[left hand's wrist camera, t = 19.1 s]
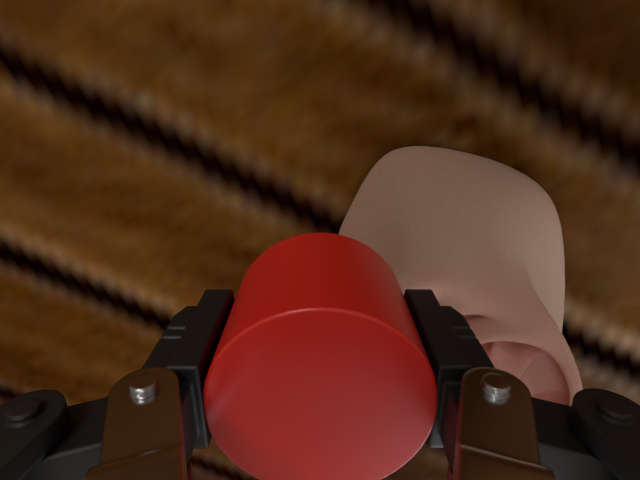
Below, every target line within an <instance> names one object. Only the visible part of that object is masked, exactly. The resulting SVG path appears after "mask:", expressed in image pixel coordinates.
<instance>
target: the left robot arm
mask: <svg viewBox="0 0 640 480" xmlns="http://www.w3.org/2000/svg"><path fill="white" fill-rule="evenodd" d="M404 298H405V300H406V303H407V305H408V308H409V311H410V313H411V316H412V318H413V321H414V323H415V326H416V328H417V331H418V334H419V336H420V339H421V341H422V344H423V346H424V349H425V351H426V354H427V357H428V359H429V362H430V364H431V367H432V369H433V372H434V375H435V379H436V383H437V412H436V416H435V420H434V424H433V427H432V429H431V432H430V435H429V437H428V438H427V442H428V446H429V448H444V450H445V453H446V456H447V459H448V462H449V465H448V472H447V480H640V406H639V405H638V404H636V403H635V402H633V401H631V400H630V399H628V398H626V397H624V396H621V395H619V394H616V393H614V392H610V391H607V390H602V389H583V390H580V391H578V392H577V393H576V394H575V395H574V397H573V401H572V404H571V406H569V405H564V404H560V403H555V402H551V401H546V400H542V399H538V398H534V397H531V393H530V391H529V389H528V387H527V386H526V385H525V384H524V383H523V382H522V381H521V380H520V379H518V378H517V377H516V376H514V375H512V374H510V373H508V372H506V371H503V370H500V369H497V368H495V367H494V365H493V363H492V362H491V360H490V359H489V357H488V355H487V354H486V352H485V350H484V349H483V347H482V345H481V344H480V342H479V340H478V339H477V338H476V335H475V334H474V332H473V331H472V329H470V326H469V324H468V322H467V321H466V319H465V317H464V316H463V315H462V314H461V313H459V312H458V311H457V310H455V309H454V308H453V307H451V306H440V304H439V302H438V300H437V298H436V296H435V295H434V293H433V291H432V290H431V289H406V290H405V292H404ZM234 301H235V300H234V293H233V290H206V291H205V292H204V294H203V296H202V298H201V300H200V302H199V303H198V305H197V306H187V307H186V308H184V309H183V310H182V311H180V312H179V313H177V314H176V315H175V316H174V317H173V319H172V320H171V322H170V324H169V325H168V327H167V329H166V330H165V332H164V333H163V335H162V338H161V339H160V340H159V341H158V343H157V345H156V346H155V348H154V350H153V351H152V353H151V354H150V356H149V358H148V359H147V361H146V363H145V364H144V366H143V367H142V369H140V370H137V371H134V372H132V373H130V374H128V375H126V376H124V377H123V378H122V379H120V380H119V381H118V382H117V383H116V384H115V385H114V386H113V387H112V389H111V391H110V393H109V396H107V397H105V398H102V399H98V400H94V401H89V402H85V403H80V404H76V405H72V406H67V404H66V400H65V397H64V396H63V395H62V394H61V393H60V392H58V391H54V390H38V391H33V392H29V393H26V394H23V395H20V396H18V397H15V398H13V399H11V400H9V401H7V402H6V403H4V404H2V405H1V406H0V480H193V472H192V465H191V459H190V457H191V454H192V451H193V448H208V447H209V444H210V440H211V437H212V435H211V433H210V431H209V428H208V425H207V422H206V419H205V414H204V408H203V389H204V383H205V379H206V376H207V373H208V370H209V367H210V365H211V362H212V359H213V357H214V354H215V352H216V349H217V346H218V344H219V341H220V338H221V336H222V333H223V330H224V328H225V325H226V323H227V320H228V317H229V315H230V312H231V309H232V307H233V304H234Z"/></svg>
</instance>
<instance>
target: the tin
mask: <svg viewBox="0 0 640 480" xmlns="http://www.w3.org/2000/svg"><path fill="white" fill-rule="evenodd" d="M203 408H204V414H205V419H206V422H207V425H208V428H209V431H210V433H211V435H212V437H213V438H214V440H215V442H216V443H217V445H218V446H219V447H220V449H221V450H222V452H223V453H224V454H225V455H226V456H227V457H228V458H229V459H230V460H231V461H232V462H233V463H235V464H236V465H237V466H238V467H240V468H241V469H242V470H244V471H246V472H247V473H249V474H250V475H252V476H254V477H256V478H258V479H260V480H381V479H383V478H385V477H387V476H388V475H390V474H392V473H394V472H395V471H397V470H398V469H399V468H401V467H402V466H404V465H405V464H406V463H407V462H408V461H409V460H410V459H411V458H413V457H414V456H415V455H416V453H417V452H418V451H419V450H420V449H421V447H422V446H423V445H424V443H425V441H426V440H427V438H428V437H429V435H430V432H431V429H432V427H433V424H434V420H435V416H436V412H437V383H436V379H435V375H434V372H433V369H432V367H431V364H430V362H429V359H428V357H427V354H426V351H425V349H424V346H423V344H422V341H421V339H420V336H419V334H418V331H417V328H416V326H415V323H414V321H413V318H412V316H411V313H410V311H409V308H408V305H407V303H406V300H405V298H404V295H403V293H402V290H401V288H400V285H399V283H398V280H397V278H396V276H395V274H394V272H393V270H392V269H391V267H390V266H389V265H388V263H387V262H386V261H385V260H384V259H383V258H382V257H381V256H380V255H379V254H378V253H377V252H376V251H374V250H373V249H371V248H370V247H369V246H367V245H365V244H363V243H361V242H359V241H357V240H355V239H352V238H349V237H347V236H343V235H338V234H332V233H309V234H302V235H298V236H294V237H291V238H288V239H285V240H283V241H281V242H279V243H277V244H275V245H273V246H272V247H270V248H269V249H267V250H266V251H265V252H264V253H262V254H261V255H260V256H259V257H258V258H257V259H256V260H255V261H254V262H253V264H252V265H251V266H250V268H249V269H248V271H247V272H246V274H245V276H244V278H243V280H242V283H241V286H240V288H239V291H238V294H237V296H236V299H235V301H234V304H233V307H232V309H231V312H230V315H229V317H228V320H227V323H226V325H225V328H224V330H223V333H222V336H221V338H220V341H219V344H218V346H217V349H216V352H215V354H214V357H213V359H212V362H211V365H210V367H209V370H208V373H207V376H206V379H205V383H204V389H203Z"/></svg>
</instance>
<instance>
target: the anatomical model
mask: <svg viewBox="0 0 640 480" xmlns="http://www.w3.org/2000/svg"><path fill="white" fill-rule="evenodd" d="M338 235H343V236H347V237H349V238H352V239H355V240H357V241H359V242H361V243H363V244H365V245H367V246H369V247H370V248H371V249H373V250H374V251H376V252H377V253H378V254H379V255H380V256H381V257H382V258H383V259H384V260H385V261H386V262H387V263H388V265H389V266H390V267H391V269H392V270H393V272H394V274H395V276H396V278H397V280H398V283H399V285H400V288H401V290H402V293H403V295H404V292H405V290H406V289H431V290H432V291H433V293H434V295H435V296H436V298H437V300H438V302H439V304H440V306H451V307H453V308H454V309H455V310H457V311H458V312H459V313H461V314H462V315H463V316H464V317H465V319H466V321H467V322H468V324H469V326H470V329H472V331H473V332H474V334H475V335H476V338H477V339H478V340H479V342H480V344H481V345H482V347H483V349H484V350H485V352H486V354H487V355H488V357H489V359H490V360H491V362H492V363H493V365H494V367H495V368H497V369H500V370H503V371H506V372H508V373H510V374H512V375H514V376H516V377H517V378H518V379H520V380H521V381H522V382H523V383H524V384H525V385H526V386H527V387H528V389H529V391H530V393H531V397H534V398H538V399H542V400H546V401H551V402H555V403H560V404H564V405H569V406H571V404H572V401H573V397H574V395H575V394H576V393H577V392H578V391H580V390H583V389H582V383H581V379H580V375H579V371H578V368H577V365H576V363H575V360H574V357H573V355H572V353H571V350H570V348H569V346H568V344H567V342H566V340H565V338H564V336H563V334H562V326H563V318H564V298H565V260H564V245H563V237H562V229H561V225H560V221H559V216H558V213H557V210H556V208H555V205H554V204H553V202H552V200H551V198H550V197H549V195H548V194H547V193H546V192H545V190H544V189H543V188H542V187H541V186H540V185H539V184H537V183H536V182H535V181H534V180H532V179H531V178H530V177H528V176H527V175H525V174H523V173H521V172H519V171H517V170H515V169H513V168H512V167H510V166H507V165H505V164H502V163H499V162H497V161H494V160H492V159H488V158H485V157H481V156H477V155H474V154H470V153H466V152H461V151H456V150H451V149H446V148H439V147H429V146H409V147H402V148H399V149H395V150H393V151H391V152H389V153H387V154H386V155H384V156H383V157H382V158H381V159H380V160H379V161H378V162H377V163H376V164H375V165H374V166H373V168H372V169H371V170H370V172H369V173H368V175H367V177H366V178H365V180H364V181H363V183H362V184H361V186H360V188H359V190H358V192H357V194H356V196H355V198H354V200H353V202H352V204H351V206H350V208H349V210H348V212H347V214H346V216H345V219H344V221H343V223H342V226H341V228H340V231H339V234H338Z"/></svg>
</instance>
